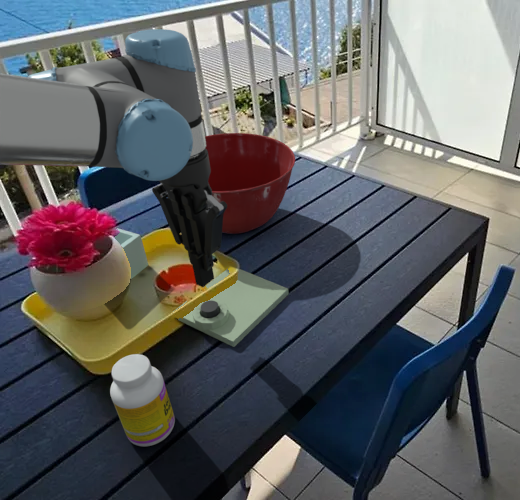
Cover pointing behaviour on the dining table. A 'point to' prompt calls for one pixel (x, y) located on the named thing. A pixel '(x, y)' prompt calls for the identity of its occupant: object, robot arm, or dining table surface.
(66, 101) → the robot arm
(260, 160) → the mixing bowl
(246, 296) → the scale
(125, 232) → the right angle wall
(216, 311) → the button
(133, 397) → the supplement bottle
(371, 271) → the dining table surface
